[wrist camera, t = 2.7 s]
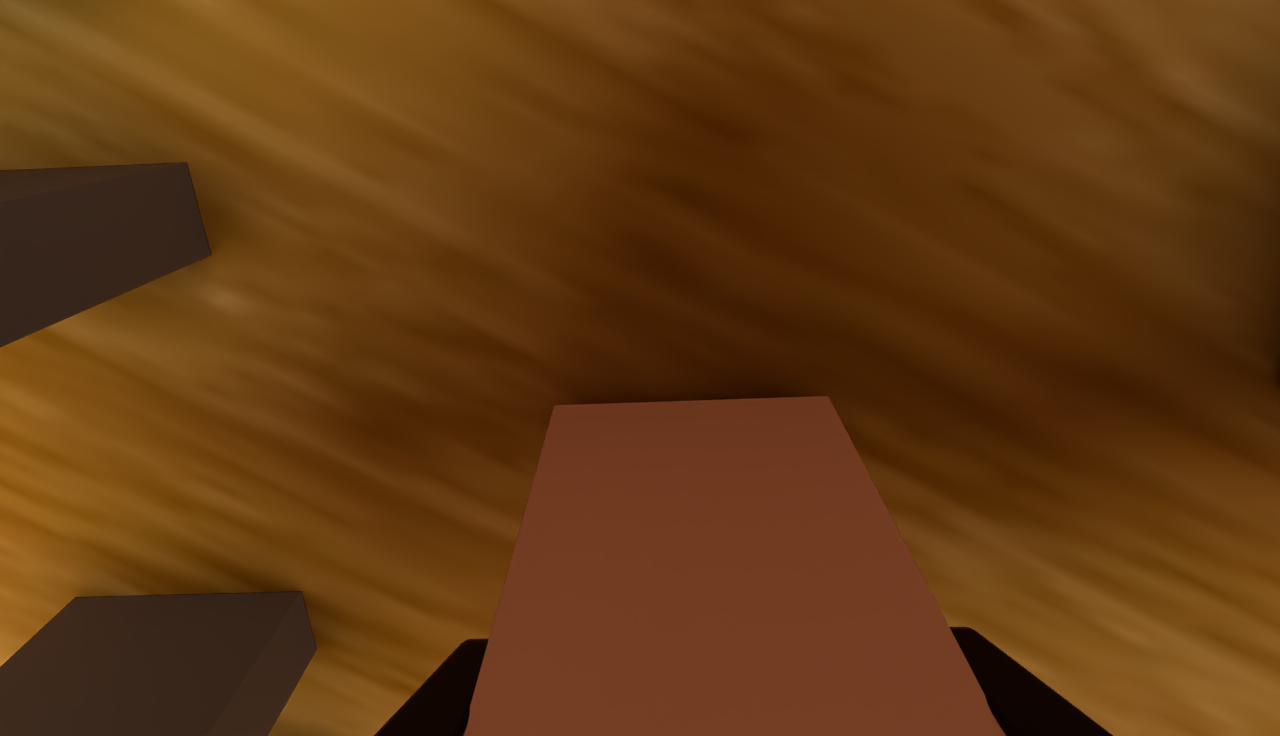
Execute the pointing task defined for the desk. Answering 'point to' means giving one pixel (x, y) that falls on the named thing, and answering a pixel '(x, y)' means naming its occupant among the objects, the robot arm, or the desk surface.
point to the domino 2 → (159, 666)
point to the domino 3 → (716, 586)
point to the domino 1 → (90, 237)
